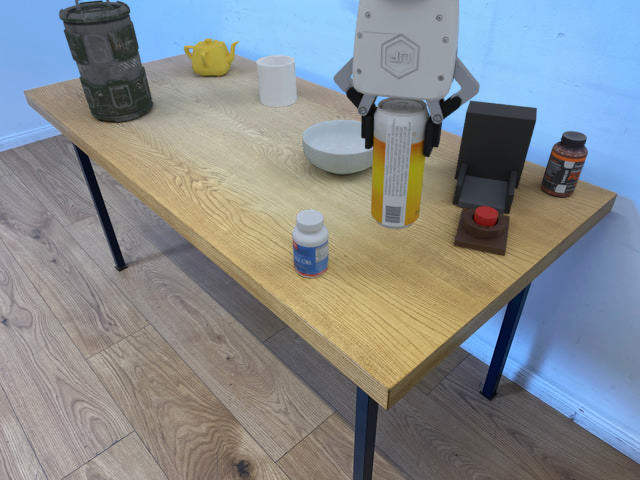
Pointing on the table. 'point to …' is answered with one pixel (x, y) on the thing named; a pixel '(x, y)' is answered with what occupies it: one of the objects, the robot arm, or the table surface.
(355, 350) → the table surface
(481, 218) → the button
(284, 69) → the mug
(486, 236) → the button block
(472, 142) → the dark grey cradle
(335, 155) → the cereal bowl
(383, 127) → the beer can
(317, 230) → the pill bottle
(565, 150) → the supplement bottle
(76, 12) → the canister
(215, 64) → the teapot
